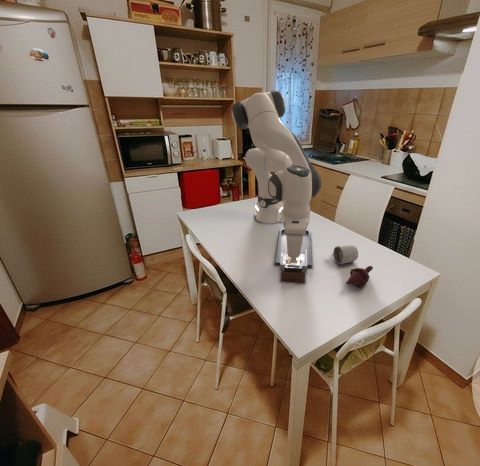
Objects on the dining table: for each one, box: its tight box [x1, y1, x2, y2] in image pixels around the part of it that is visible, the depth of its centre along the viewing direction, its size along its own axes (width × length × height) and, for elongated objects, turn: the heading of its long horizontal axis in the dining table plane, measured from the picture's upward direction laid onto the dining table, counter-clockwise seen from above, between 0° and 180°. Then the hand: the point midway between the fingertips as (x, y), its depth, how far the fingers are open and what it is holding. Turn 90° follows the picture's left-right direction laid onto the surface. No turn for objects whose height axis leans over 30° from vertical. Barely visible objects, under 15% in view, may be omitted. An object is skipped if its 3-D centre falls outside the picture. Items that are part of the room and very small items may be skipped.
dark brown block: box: [280, 271, 306, 284], centre depth 103 cm, size 9×9×5 cm
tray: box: [274, 228, 313, 269], centre depth 123 cm, size 31×15×2 cm, turn 174°
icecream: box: [346, 265, 374, 287], centre depth 98 cm, size 7×7×15 cm
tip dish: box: [279, 248, 308, 274], centre depth 101 cm, size 15×10×3 cm, turn 174°
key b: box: [296, 258, 302, 265], centre depth 102 cm, size 6×2×1 cm, turn 174°
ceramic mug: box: [332, 244, 359, 265], centre depth 113 cm, size 11×8×8 cm
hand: (293, 254), depth 91 cm, fingers open, 8 cm apart
